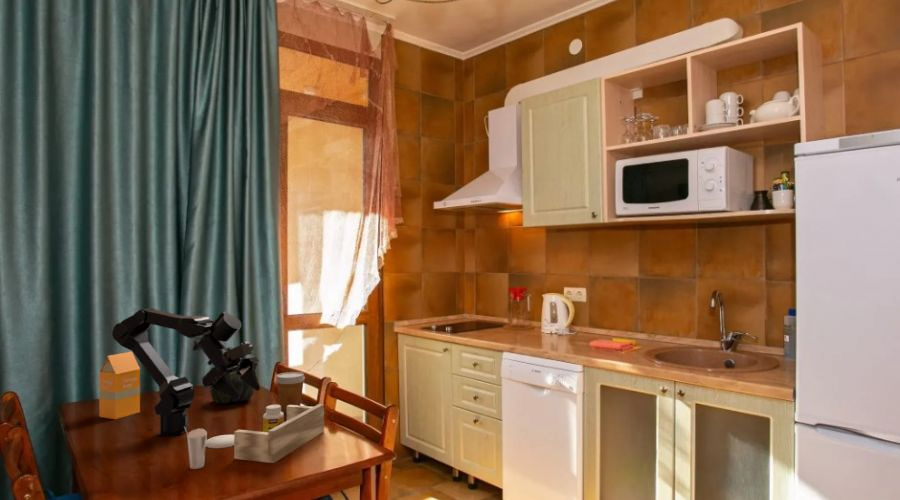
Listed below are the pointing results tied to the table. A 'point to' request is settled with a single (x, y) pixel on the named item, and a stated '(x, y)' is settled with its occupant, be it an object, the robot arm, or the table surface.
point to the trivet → (220, 441)
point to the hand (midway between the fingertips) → (249, 393)
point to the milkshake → (196, 447)
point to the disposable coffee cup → (290, 389)
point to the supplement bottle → (272, 417)
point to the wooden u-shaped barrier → (280, 435)
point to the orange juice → (119, 386)
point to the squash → (241, 387)
